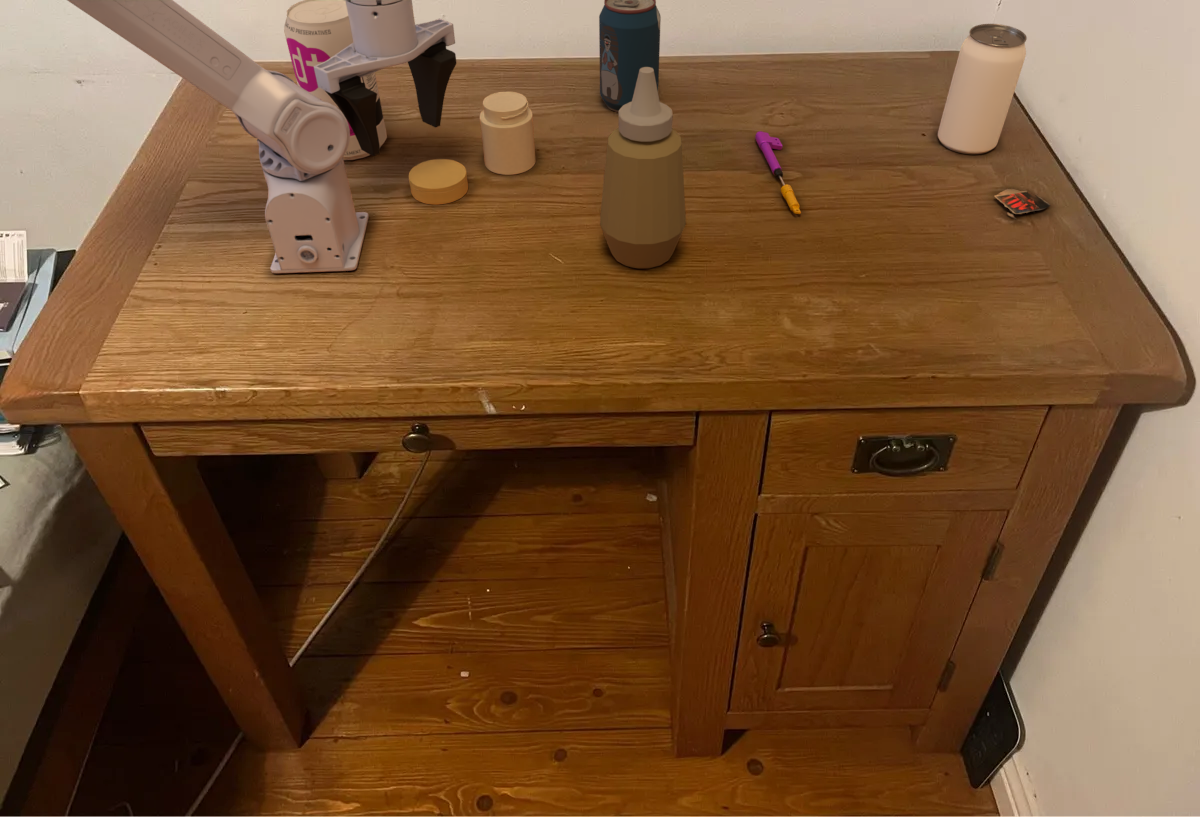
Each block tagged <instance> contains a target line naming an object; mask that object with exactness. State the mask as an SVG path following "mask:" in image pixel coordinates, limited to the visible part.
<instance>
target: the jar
mask: <svg viewBox="0 0 1200 817" xmlns="http://www.w3.org/2000/svg"><path fill="white" fill-rule="evenodd" d="M482 108H483V110H482V111H480V114H479V125H480V135H481V144H482V154H483V161H484V167H485V168H486V169H487V170H488V171H490V172H491V173H494V174H497V175H502V176H512V175H519V174H522V173H525V172H527V171H529V170H531V169H533V167H534V166H535V164H536V162H537V161H536V160H537V158H536V145H535V144H536V142H535V131H534V113H533V111H532V110H531V108H529V101H528V99H527V97H526V96H525V95H524V94H522V93H519V92H516V91H497V92H494V93H491V94H489V95H487V96H486V97H484V99H483V100H482Z"/></svg>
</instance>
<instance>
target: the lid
mask: <svg viewBox="0 0 1200 817" xmlns="http://www.w3.org/2000/svg"><path fill="white" fill-rule="evenodd" d="M467 173H468V172H467V169H466V167H465V166H464V165H463V164H462V163H460V162H458V161H456V160H454V159H448V158H436V159H430V160H429V159H428V160H424V161H422V162H420V163H418V164H416V165H415V166H413V167H412V168H411V169H410V171H409V172H408V181H409V188H410V193H411V196H412V197H413V199H415V200H416V201H418V202H419V203H423V204H427V205H437V206H438V205H447V204H450V203H454V202H456V201H458V200H460V199H462V198H463V197H464V196H466V194H467V193H468V190H469V180H468V175H467Z"/></svg>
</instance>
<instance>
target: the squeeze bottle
mask: <svg viewBox="0 0 1200 817" xmlns="http://www.w3.org/2000/svg"><path fill="white" fill-rule="evenodd" d="M673 115H674V114H673V110H672V108H671V107H670V106H669V105H668V104H666V103H663V102H661V101H660V96H659V90H658V91H657V85H656V80H655V75H654V69H653V68H650V67H643V68H641V69H640V70H639V74H638V78H637V82H636V87H635V91H634V95H633V99H632V102H629V103H627V104H625V105H623V106H622V107H621V108H620V110H619V113H618V127H616V128H615V129H614V130H612V132H611V133H610V134H609V136H608V137H607V145H606V154H605V166H604V174H603V184H602V193H601V203H600V204H601V205H600V212H599V213H600V214H599V225H600V228H601V231H602V233H603V235H604V238H605V240H606V243H607V246H608V248H609V251H610V253H611V255H612V256H613V258H614V259H615V261H617V262H618V263H620V264H621V265H623V266H625V267H630V268H633V269H651V268H656V267H659V266H662V265H663V264H665V263H666V262H668V261H669V260H670V258H671V257H672V255H673V254H674V251H675V249H676V247H677V245H678V243H679V240H680V238H681V236H682V234H683V232H684V229H685V227H686V225H687V219H686V200H685V198H686V197H685V178H684V161H683V160H684V159H683V157H684V156H683V141H682V135H680V134H679V133H678V132H677V130H676V129H674V128H673V117H674V116H673Z"/></svg>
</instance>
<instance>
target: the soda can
mask: <svg viewBox="0 0 1200 817" xmlns="http://www.w3.org/2000/svg"><path fill="white" fill-rule="evenodd" d="M603 3H604V5H603V7H602V9H601V11H600V13H599V16H598V28H599V32H598V33H599V36H598V39H599V95H600V98H601V99H602V101H603V102H604V104H605V105H606V107H607V108H608V109H609V110H610V111H613V112H615V113H618V114H619V110H620V108H621V107H622V106H623V105H625V104H627V103H629V102H632V99H633V95H634V91H635V87H636V82H637V78H638V74H639V70H640V69H641V68H643V67H650V68H653V69H654V75H655V80H656V85H657V91H658V92H659V82H660V80H659V79H660V78H659V77H660V47H661V22H662V21H661V19H662V17H661V13H660V11H659V8H658V6H657V5H656V4H657V0H604V1H603Z"/></svg>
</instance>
